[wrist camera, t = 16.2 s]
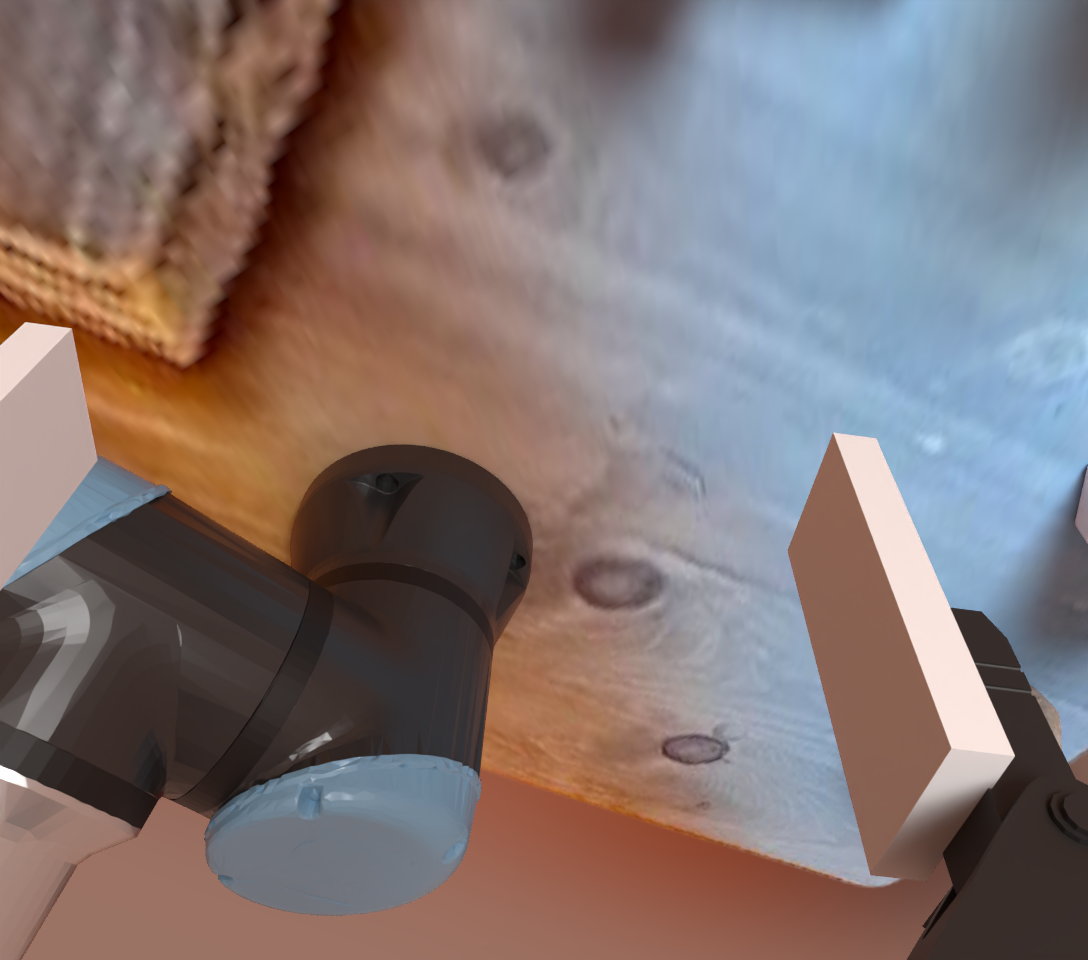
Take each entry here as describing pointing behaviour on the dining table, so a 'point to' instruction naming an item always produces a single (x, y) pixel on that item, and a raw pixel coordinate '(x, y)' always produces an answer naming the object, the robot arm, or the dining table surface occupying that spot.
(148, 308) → the dining table surface
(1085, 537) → the jar
